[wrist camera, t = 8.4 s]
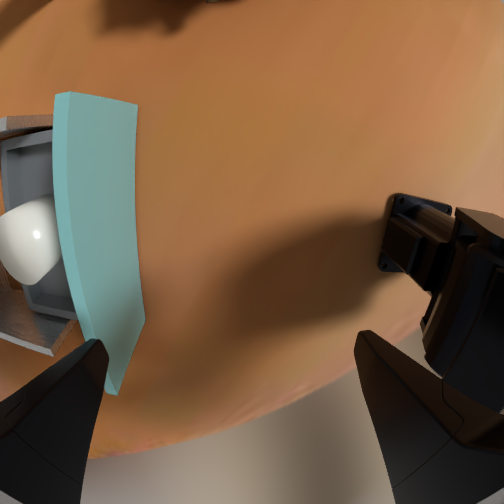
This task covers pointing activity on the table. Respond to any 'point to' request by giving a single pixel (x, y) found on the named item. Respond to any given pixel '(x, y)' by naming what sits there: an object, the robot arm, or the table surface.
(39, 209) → the grey rounded tapered piece
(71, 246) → the drawer
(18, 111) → the table surface
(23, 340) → the dock
